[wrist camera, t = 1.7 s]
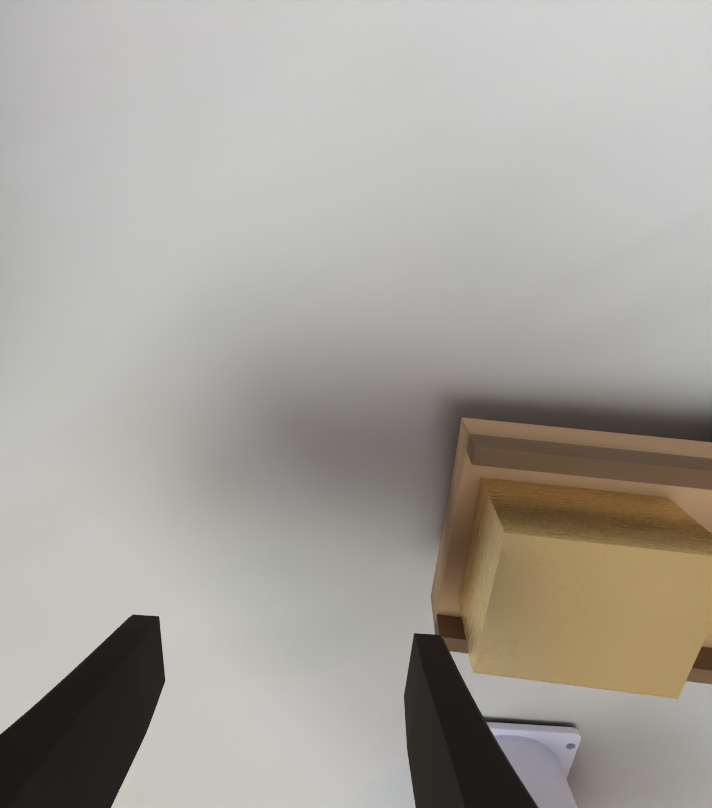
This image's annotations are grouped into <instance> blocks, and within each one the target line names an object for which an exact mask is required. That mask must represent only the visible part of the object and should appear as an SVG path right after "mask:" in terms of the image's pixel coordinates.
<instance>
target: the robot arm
mask: <svg viewBox="0 0 712 808" xmlns="http://www.w3.org/2000/svg"><path fill="white" fill-rule="evenodd" d="M164 683H165V674H164V663H163V653H162V642H161V632H160V621H159V616H144V615H132V616H131V617H129V618H128V619H127V620H126V621H125V622H124V623H123V624H122V625H121V626H120V627H119V628H117V629H116V630H115V631H114V632H113V633H112V634H111V635H110V636H109V637H108V638H107V639H106V640H105V641H104V642H103V643H102V644H101V645H100V646H99V647H97V648H96V649H95V650H94V651H93V652H92V653H91V654H90V655H89V656H88V657H87V658H86V659H85V660H84V661H83V662H81V663H80V664H79V665H78V666H77V667H76V668H75V669H74V670H73V671H72V672H71V673H70V674H69V675H67V676H66V677H65V678H64V679H63V680H62V681H61V682H60V683H59V684H58V685H56V686H55V687H54V688H53V689H52V690H51V691H50V692H49V693H48V694H46V695H45V696H44V697H43V698H42V699H41V700H40V701H39V702H38V703H37V704H35V705H34V706H33V707H32V708H31V709H30V710H29V711H27V712H26V713H25V714H24V715H23V716H22V717H20V718H19V719H18V720H17V721H16V722H15V723H13V724H12V725H11V726H10V727H9V728H8V729H6V730H5V731H4V732H3V733H2V734H0V808H111V806H112V804H113V802H114V800H115V798H116V796H117V793H118V791H119V789H120V787H121V785H122V783H123V781H124V779H125V777H126V775H127V773H128V770H129V768H130V766H131V764H132V762H133V760H134V758H135V756H136V754H137V751H138V749H139V747H140V745H141V743H142V741H143V739H144V736H145V734H146V732H147V729H148V727H149V724H150V721H151V719H152V716H153V713H154V711H155V708H156V705H157V702H158V700H159V697H160V694H161V691H162V688H163V686H164ZM404 703H405V721H406V737H407V750H408V757H409V764H410V771H411V778H412V785H413V792H414V798H415V805H416V808H578V807H577V805H576V802H575V800H574V797H573V795H572V792H571V790H570V787H569V785H568V782H567V780H566V779H567V776H568V774H569V771H570V768H571V766H572V763H573V760H574V758H575V755H576V752H577V749H578V747H579V744H580V741H581V736H580V734H579V732H578V730H577V729H576V728H573V727H560V726H544V725H528V724H512V723H496V722H486V721H485V719H484V717H483V716H482V714H481V712H480V710H479V709H478V707H477V705H476V703H475V701H474V699H473V698H472V696H471V694H470V692H469V690H468V688H467V686H466V684H465V682H464V680H463V678H462V677H461V675H460V673H459V671H458V669H457V667H456V664H455V662H454V660H453V658H452V656H451V654H450V652H449V650H448V648H447V645H446V643H445V641H444V639H443V638H442V637H441V636H440V635H431V634H416V633H414V638H413V644H412V650H411V656H410V663H409V669H408V675H407V681H406V687H405V694H404Z"/></svg>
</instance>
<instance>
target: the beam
mask: <svg viewBox="0 0 712 808" xmlns="http://www.w3.org/2000/svg"><path fill="white" fill-rule="evenodd" d="M481 477H482V478H491V479H501V480H510V481H519V482H529V483H538V484H548V485H557V486H566V487H576V488H585V489H595V490H604V491H613V492H623V493H632V494H642V495H651V496H660V497H669V498H670V499H671V500H672V501H673V502H674V503H676V504H677V505H678V506H679V507H680V508H682V509H683V510H684V511H685V512H686V513H687V514H689V515H690V516H691V517H692V518H693V519H695V520H696V521H697V522H698V523H699V524H700V525H702V526H703V527H704V528H705V529H706V530H708V531H709V532H710V533H711V534H712V442H704V441H694V440H684V439H674V438H664V437H654V436H644V435H634V434H624V433H614V432H604V431H594V430H584V429H574V428H564V427H554V426H544V425H534V424H524V423H514V422H504V421H494V420H484V419H474V418H464V417H462V419H461V425H460V431H459V436H458V442H457V448H456V454H455V460H454V465H453V471H452V477H451V483H450V489H449V495H448V500H447V506H446V512H445V518H444V524H443V529H442V535H441V541H440V547H439V553H438V558H437V564H436V570H435V576H434V582H433V588H432V593H431V602H432V610H433V618H434V627H435V635H440V636H441V637H442V638H443V639H444V641H445V643H446V645H447V648H448V650H449V651H454V652H462V653H469V651H468V646H467V641H466V636H465V631H464V626H463V621H462V616H461V611H460V606H459V602H458V593H459V588H460V583H461V578H462V573H463V568H464V563H465V558H466V553H467V548H468V543H469V538H470V533H471V528H472V523H473V518H474V513H475V508H476V502H477V497H478V492H479V487H480V482H481ZM686 681H691V682H699V683H707V684H712V625H711V627H710V629H709V632H708V634H707V636H706V638H705V640H704V643H703V645H702V647H701V649H700V651H699V653H698V656H697V658H696V660H695V662H694V664H693V667H692V669H691V671H690V673H689V675H688V677H687V680H686Z"/></svg>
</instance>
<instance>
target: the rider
mask: <svg viewBox="0 0 712 808" xmlns="http://www.w3.org/2000/svg"><path fill="white" fill-rule="evenodd" d="M458 602H459V606H460V611H461V616H462V621H463V626H464V631H465V636H466V641H467V646H468V651H469V656H470V661H471V666H472V671H473V673H481V674H489V675H496V676H504V677H512V678H520V679H528V680H535V681H543V682H551V683H559V684H567V685H574V686H582V687H590V688H598V689H606V690H613V691H621V692H629V693H637V694H645V695H652V696H660V697H668V698H676V699H678V697H679V695H680V693H681V691H682V688H683V686H684V684H685V682H686V680H687V677H688V675H689V673H690V671H691V669H692V667H693V664H694V662H695V660H696V658H697V656H698V653H699V651H700V649H701V647H702V645H703V643H704V640H705V638H706V636H707V634H708V632H709V629H710V627H711V625H712V534H711V533H710V532H709V531H708V530H706V529H705V528H704V527H703V526H702V525H700V524H699V523H698V522H697V521H696V520H695V519H693V518H692V517H691V516H690V515H689V514H687V513H686V512H685V511H684V510H683V509H682V508H680V507H679V506H678V505H677V504H676V503H674V502H673V501H672V500H671V499H670V498H669V497H660V496H651V495H642V494H632V493H623V492H613V491H604V490H595V489H585V488H576V487H566V486H557V485H548V484H538V483H529V482H519V481H510V480H501V479H491V478H482V477H481V482H480V487H479V492H478V497H477V502H476V508H475V513H474V518H473V523H472V528H471V533H470V538H469V543H468V548H467V553H466V558H465V563H464V568H463V573H462V578H461V583H460V588H459V593H458Z"/></svg>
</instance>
